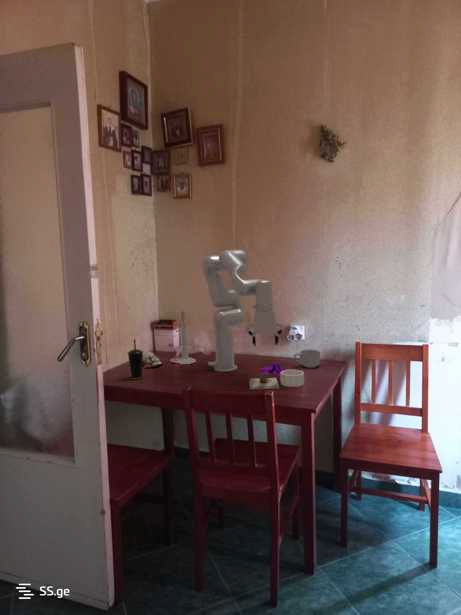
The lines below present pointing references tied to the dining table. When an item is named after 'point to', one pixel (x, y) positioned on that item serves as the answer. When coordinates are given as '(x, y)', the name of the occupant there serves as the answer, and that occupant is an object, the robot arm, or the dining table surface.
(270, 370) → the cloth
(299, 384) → the bowl
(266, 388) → the mat
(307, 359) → the teacup
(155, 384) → the dining table surface
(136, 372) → the drinking cup
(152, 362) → the skull
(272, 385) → the lid
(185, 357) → the candlestick
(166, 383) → the dining table surface
